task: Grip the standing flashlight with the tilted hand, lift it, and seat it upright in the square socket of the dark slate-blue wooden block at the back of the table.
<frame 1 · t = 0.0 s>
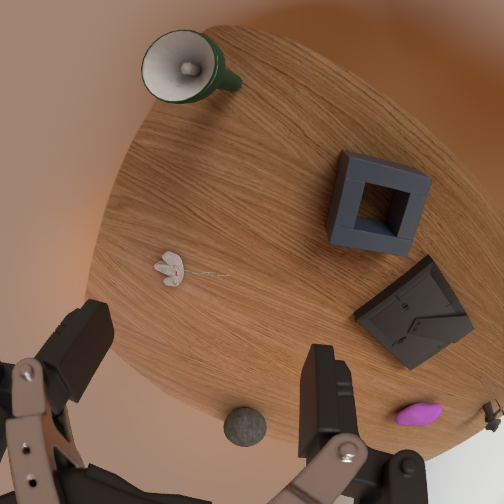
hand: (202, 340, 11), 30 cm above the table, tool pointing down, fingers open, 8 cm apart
flashlight: (233, 83, 32), on the table
game controller: (192, 269, 46), on the table
wizard figurine: (488, 402, 60), on the table
blob: (417, 405, 60), on the table
picture frame: (418, 316, 46), on the table
socket: (372, 197, 37), on the table
decorative ball: (247, 409, 65), on the table
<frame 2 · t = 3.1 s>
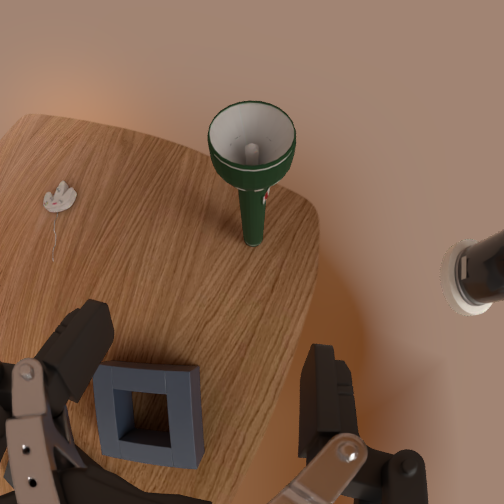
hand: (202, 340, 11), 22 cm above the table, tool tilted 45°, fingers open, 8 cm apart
flashlight: (253, 239, 35), on the table
game controller: (59, 221, 36), on the table
picture frame: (55, 479, 26), on the table
socket: (155, 408, 30), on the table
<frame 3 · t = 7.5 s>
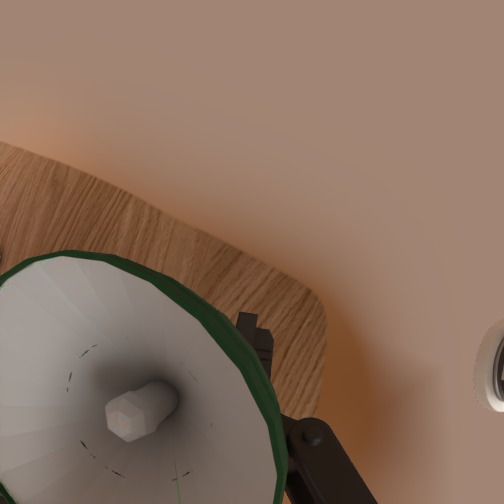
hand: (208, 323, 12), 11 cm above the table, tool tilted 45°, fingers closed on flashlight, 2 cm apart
flashlight: (223, 354, 22), on the table, touching gripper
when the fingers open (11 cm above the table, at t = 16.8 s): flashlight stays where it is, resting in socket.
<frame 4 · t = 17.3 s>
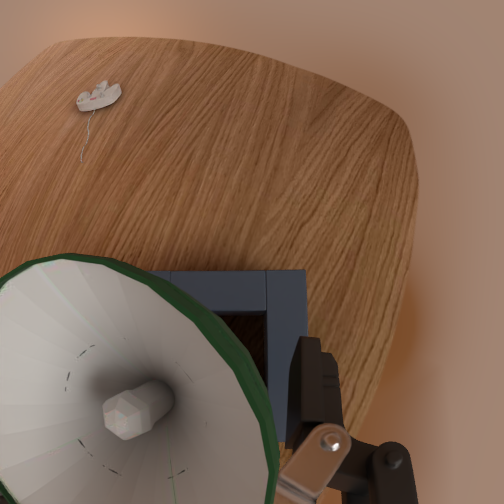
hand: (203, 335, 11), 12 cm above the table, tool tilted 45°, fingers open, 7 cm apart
flashlight: (219, 355, 22), resting in socket
game controller: (93, 122, 28), on the table
socket: (224, 354, 22), on the table
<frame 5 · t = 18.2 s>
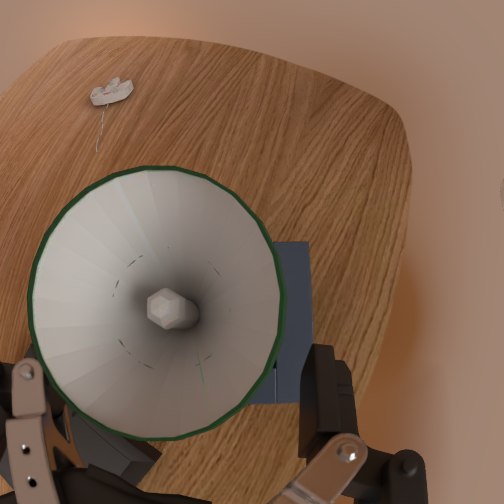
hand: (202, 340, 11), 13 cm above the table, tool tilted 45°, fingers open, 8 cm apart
flashlight: (229, 326, 24), resting in socket
game controller: (107, 115, 30), on the table
picture frame: (59, 459, 20), on the table
socket: (234, 325, 24), on the table
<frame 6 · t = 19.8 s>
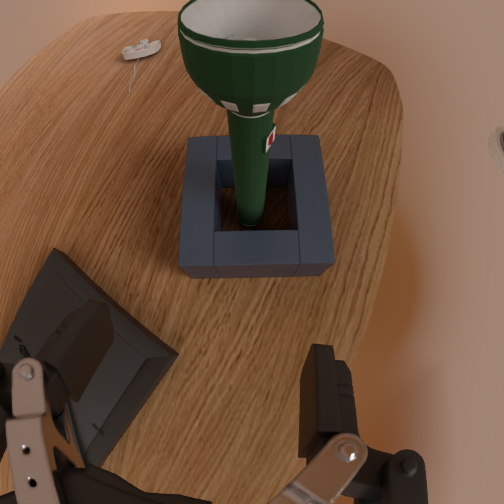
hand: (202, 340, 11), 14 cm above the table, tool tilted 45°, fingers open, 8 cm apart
flashlight: (250, 218, 27), resting in socket
game controller: (137, 67, 33), on the table
picture frame: (65, 380, 23), on the table
socket: (255, 217, 27), on the table
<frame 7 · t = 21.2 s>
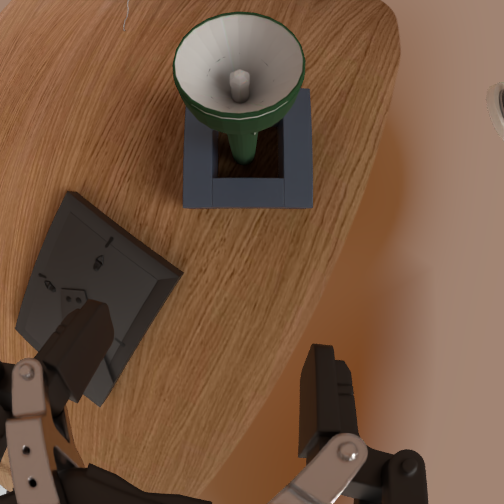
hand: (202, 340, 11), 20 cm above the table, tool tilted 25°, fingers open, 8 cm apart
flashlight: (243, 155, 29), resting in socket
picture frame: (87, 303, 31), on the table
socket: (247, 154, 29), on the table
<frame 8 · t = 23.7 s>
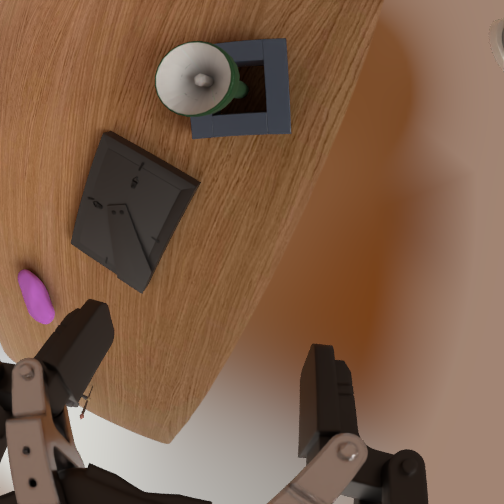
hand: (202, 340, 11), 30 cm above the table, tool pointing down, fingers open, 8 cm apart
flashlight: (240, 90, 33), resting in socket
wizard figurine: (86, 380, 71), on the table
blob: (43, 290, 54), on the table
picture frame: (128, 212, 43), on the table
socket: (243, 89, 32), on the table
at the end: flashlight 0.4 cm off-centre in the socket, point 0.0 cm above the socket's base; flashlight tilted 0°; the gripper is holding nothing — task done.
